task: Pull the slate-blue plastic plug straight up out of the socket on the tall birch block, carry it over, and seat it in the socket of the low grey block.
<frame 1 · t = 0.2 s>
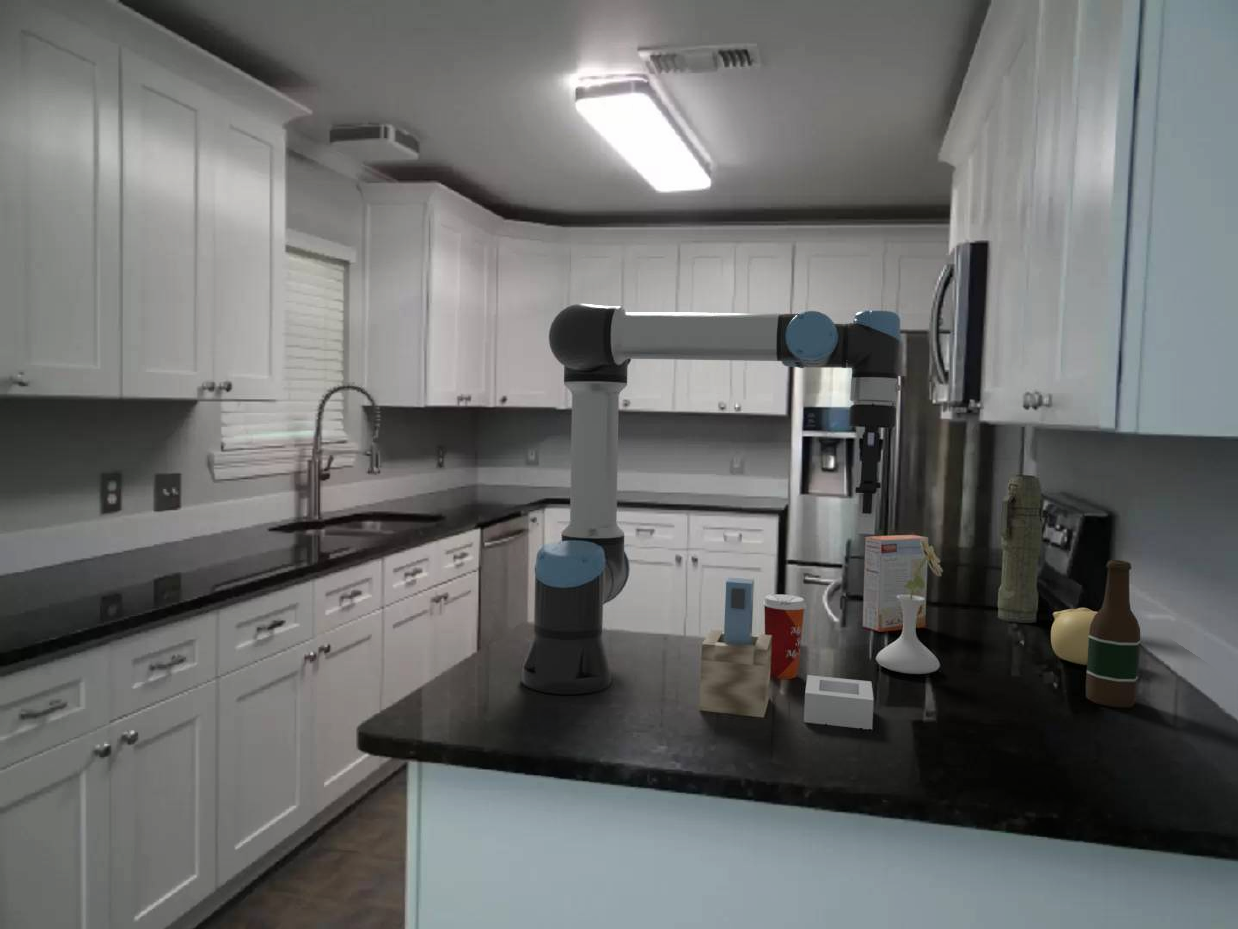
hand: (866, 529, 150), 28 cm above the countertop, fingers open, 13 cm apart
sculpture: (1081, 663, 176), on the countertop
flower in vase: (909, 671, 166), on the countertop
beer bottle: (1110, 702, 150), on the countertop
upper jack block: (735, 704, 142), on the countertop
plug: (737, 655, 141), point 8 cm above the countertop, touching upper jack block
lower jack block: (837, 715, 138), on the countertop
cracker box: (893, 628, 201), on the countertop
thermos: (1016, 619, 215), on the countertop
paper cup: (781, 675, 159), on the countertop
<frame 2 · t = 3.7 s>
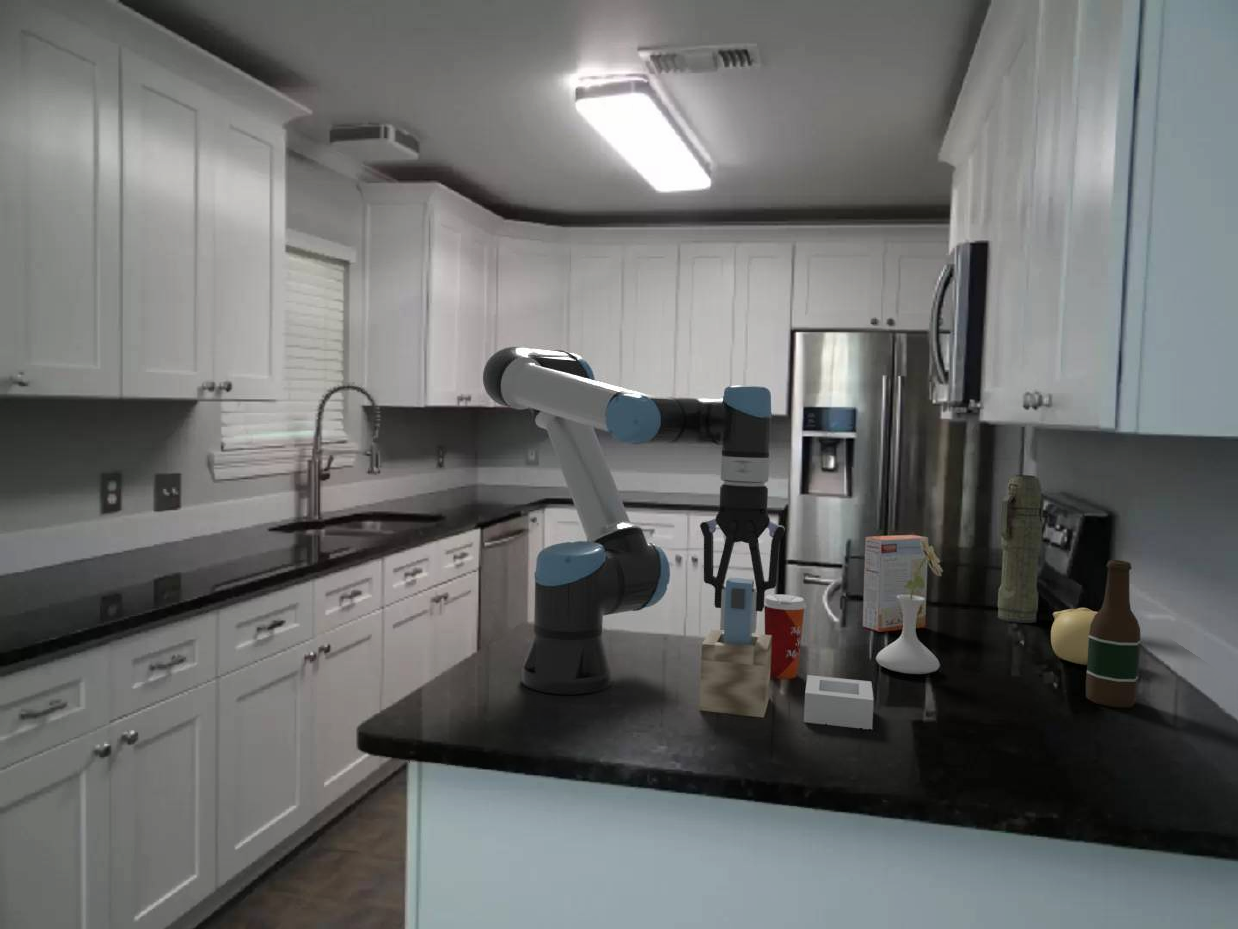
hand: (738, 629, 141), 12 cm above the countertop, fingers closed on plug, 4 cm apart
plug: (737, 655, 141), point 8 cm above the countertop, touching gripper, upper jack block
everything else where it was.
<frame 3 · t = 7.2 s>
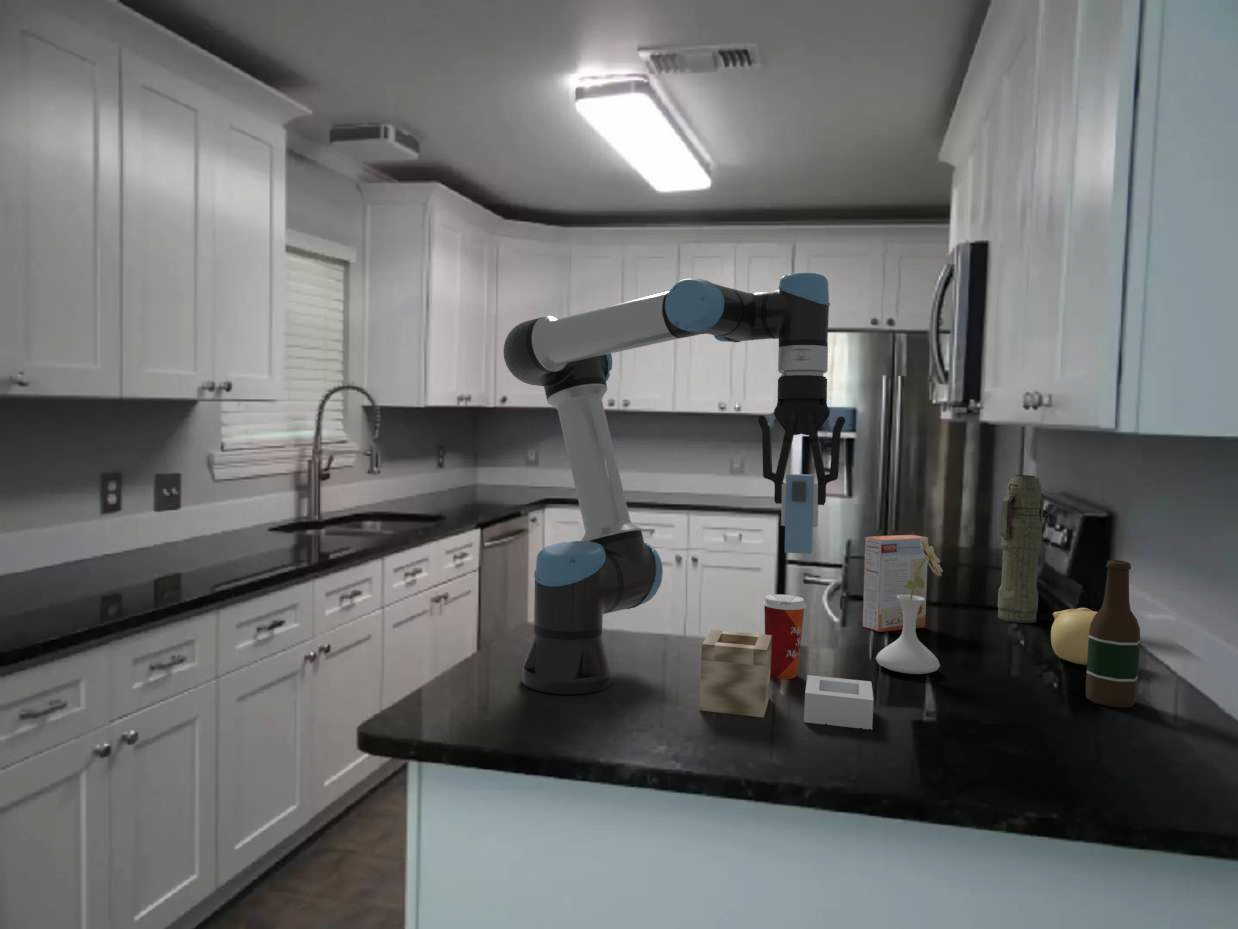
hand: (799, 525, 138), 29 cm above the countertop, fingers closed on plug, 4 cm apart
plug: (798, 551, 138), point 25 cm above the countertop, touching gripper
everything else where it was.
when the fingers open (7 cm above the countertop, at t = 10.9 s): plug drops 1 cm, resting on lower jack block.
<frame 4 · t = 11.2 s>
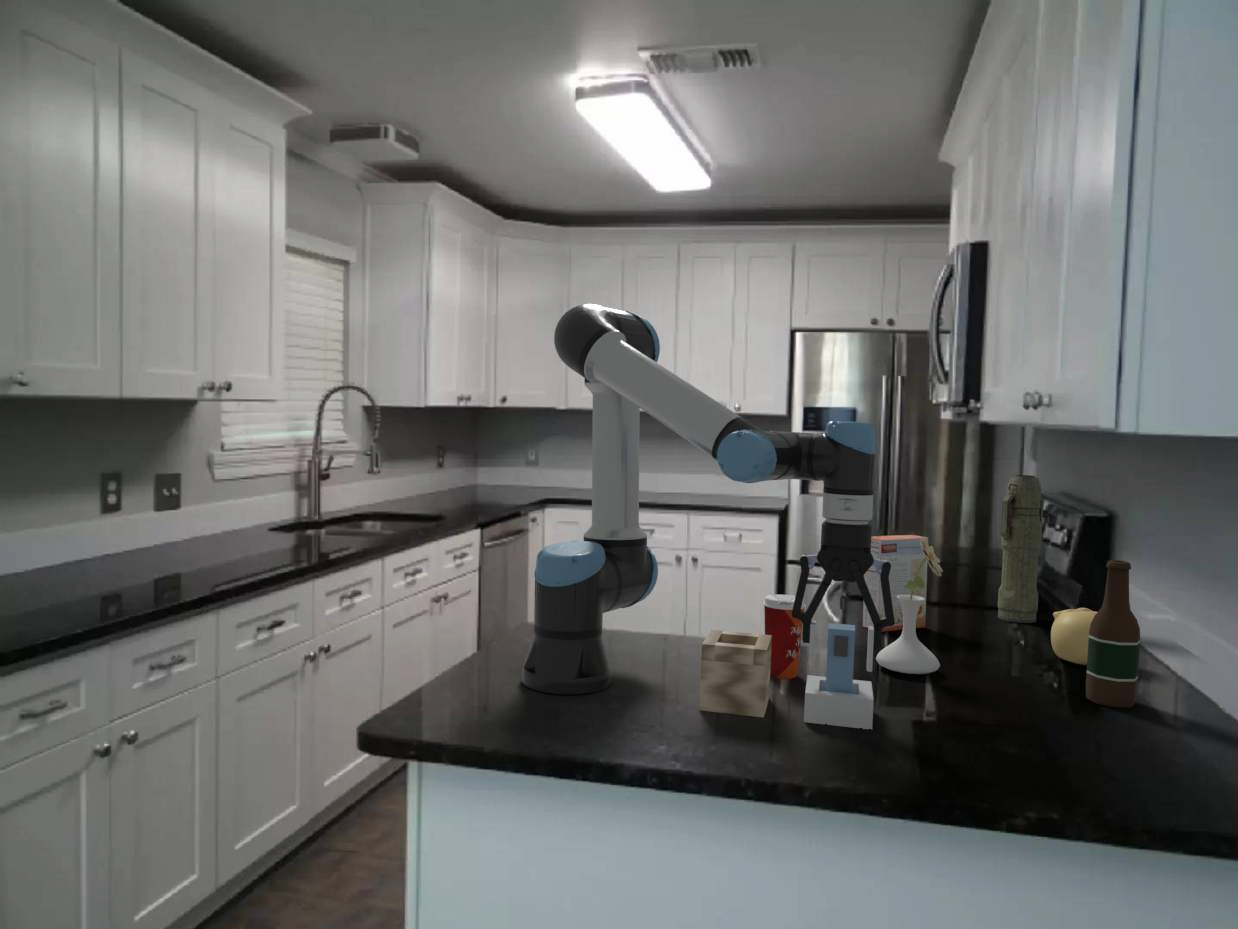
hand: (840, 666, 137), 8 cm above the countertop, fingers open, 8 cm apart
plug: (838, 703, 138), point 2 cm above the countertop, touching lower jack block
everything else where it was.
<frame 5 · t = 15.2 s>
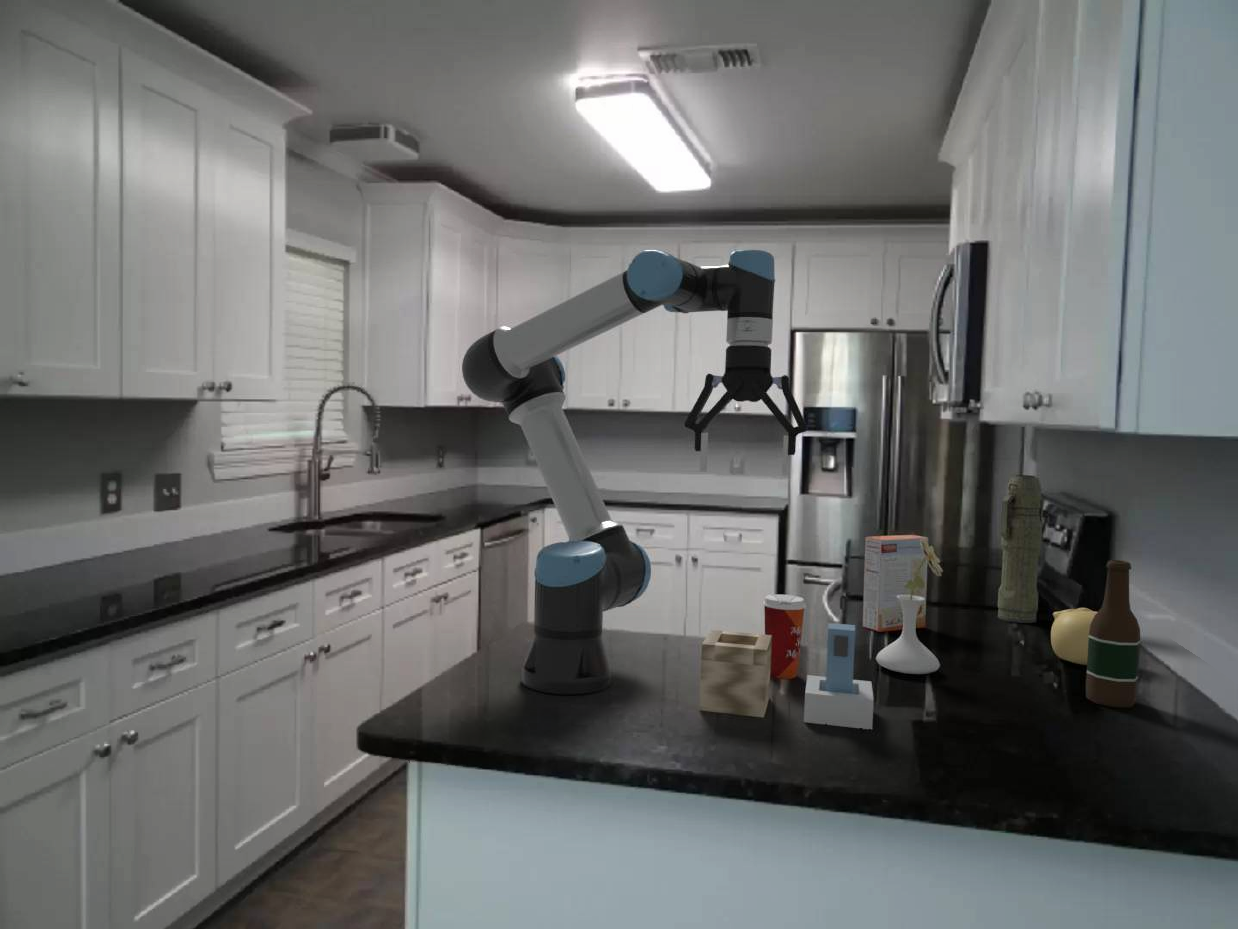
hand: (743, 473, 148), 37 cm above the countertop, fingers open, 13 cm apart
nothing on the countertop moved.
at the end: plug 0.0 cm off-centre on the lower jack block, point 2.0 cm above the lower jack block's base; plug tilted 0°; the gripper is holding nothing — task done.
